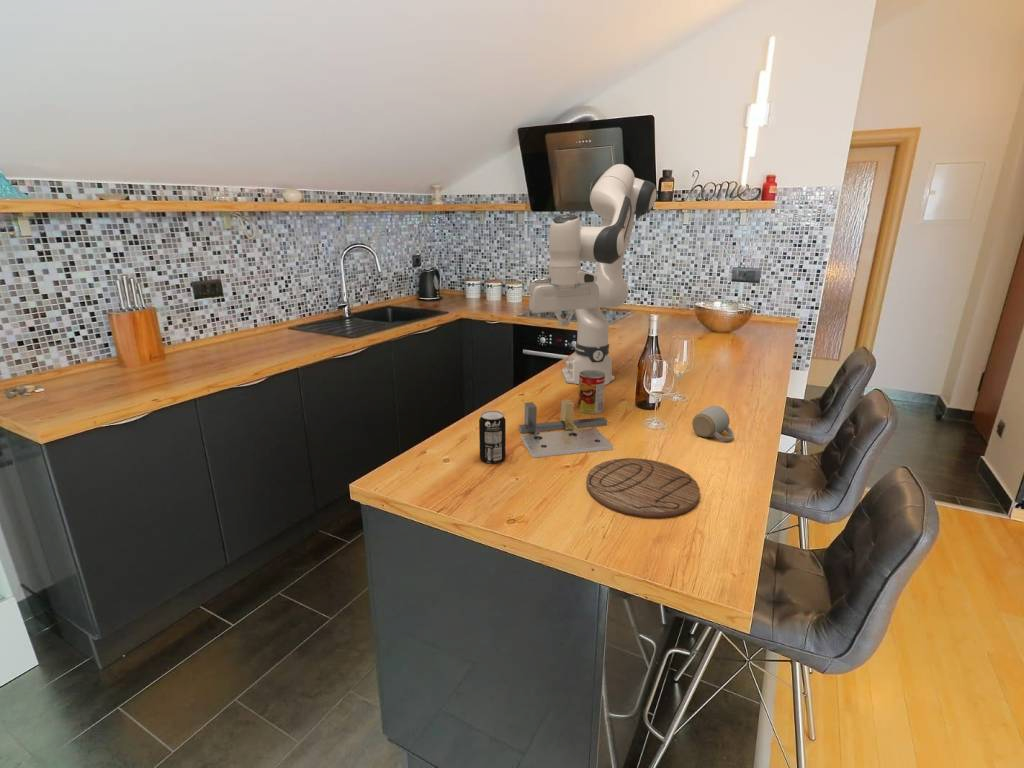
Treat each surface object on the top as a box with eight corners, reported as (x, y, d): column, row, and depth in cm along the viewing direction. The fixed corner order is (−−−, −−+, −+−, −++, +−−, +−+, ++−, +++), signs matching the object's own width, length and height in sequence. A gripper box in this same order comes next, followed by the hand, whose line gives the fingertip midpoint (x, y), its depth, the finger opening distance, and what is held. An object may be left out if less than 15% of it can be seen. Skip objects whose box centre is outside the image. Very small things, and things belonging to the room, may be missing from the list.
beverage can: (491, 450, 142) (491, 407, 138) (510, 457, 138) (510, 413, 134) (474, 459, 137) (473, 415, 133) (493, 466, 133) (493, 421, 129)
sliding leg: (560, 423, 158) (561, 399, 156) (568, 423, 159) (569, 398, 156) (572, 437, 149) (573, 412, 146) (580, 436, 149) (581, 411, 147)
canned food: (583, 403, 175) (585, 368, 172) (606, 408, 172) (608, 372, 168) (573, 411, 169) (575, 374, 165) (597, 416, 165) (599, 378, 161)
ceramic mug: (688, 434, 152) (692, 408, 150) (703, 426, 157) (706, 402, 155) (724, 446, 145) (728, 420, 142) (738, 438, 150) (742, 412, 148)
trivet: (717, 488, 124) (718, 480, 123) (666, 534, 106) (667, 526, 105) (622, 455, 140) (622, 449, 139) (564, 491, 122) (564, 484, 121)
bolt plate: (521, 439, 149) (521, 434, 148) (595, 431, 153) (595, 427, 153) (532, 457, 138) (532, 453, 137) (612, 449, 142) (613, 445, 142)
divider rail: (518, 429, 155) (518, 403, 153) (602, 421, 161) (604, 396, 159) (527, 443, 146) (527, 415, 144) (616, 434, 152) (618, 408, 149)
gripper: (533, 280, 143) (533, 331, 148) (602, 275, 149) (601, 324, 153) (525, 277, 149) (526, 326, 153) (592, 272, 155) (591, 320, 159)
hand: (564, 325), depth 154 cm, fingers closed
